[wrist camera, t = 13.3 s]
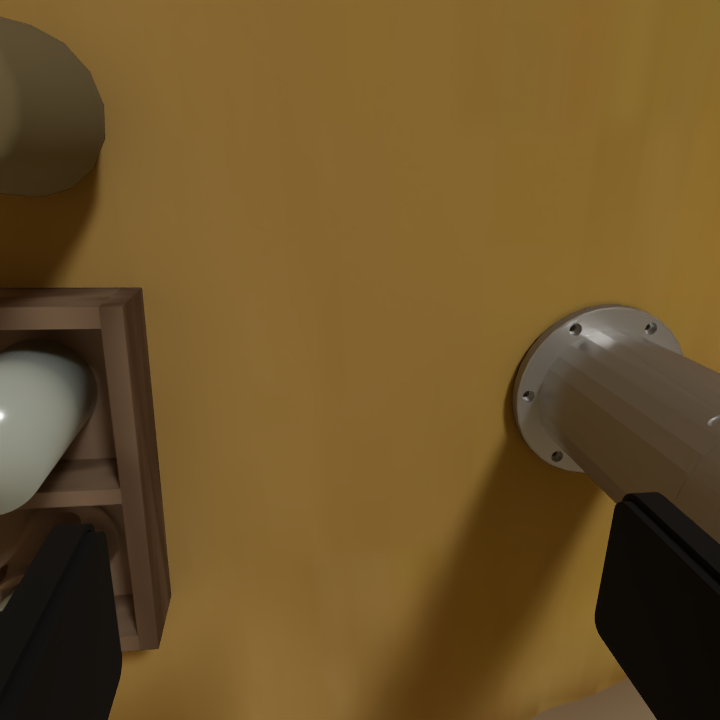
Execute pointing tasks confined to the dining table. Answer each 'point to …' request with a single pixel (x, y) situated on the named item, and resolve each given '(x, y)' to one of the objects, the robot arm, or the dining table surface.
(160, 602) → the carrier
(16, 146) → the squeeze bottle
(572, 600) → the dining table surface
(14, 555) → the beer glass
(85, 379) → the grey rounded piece
